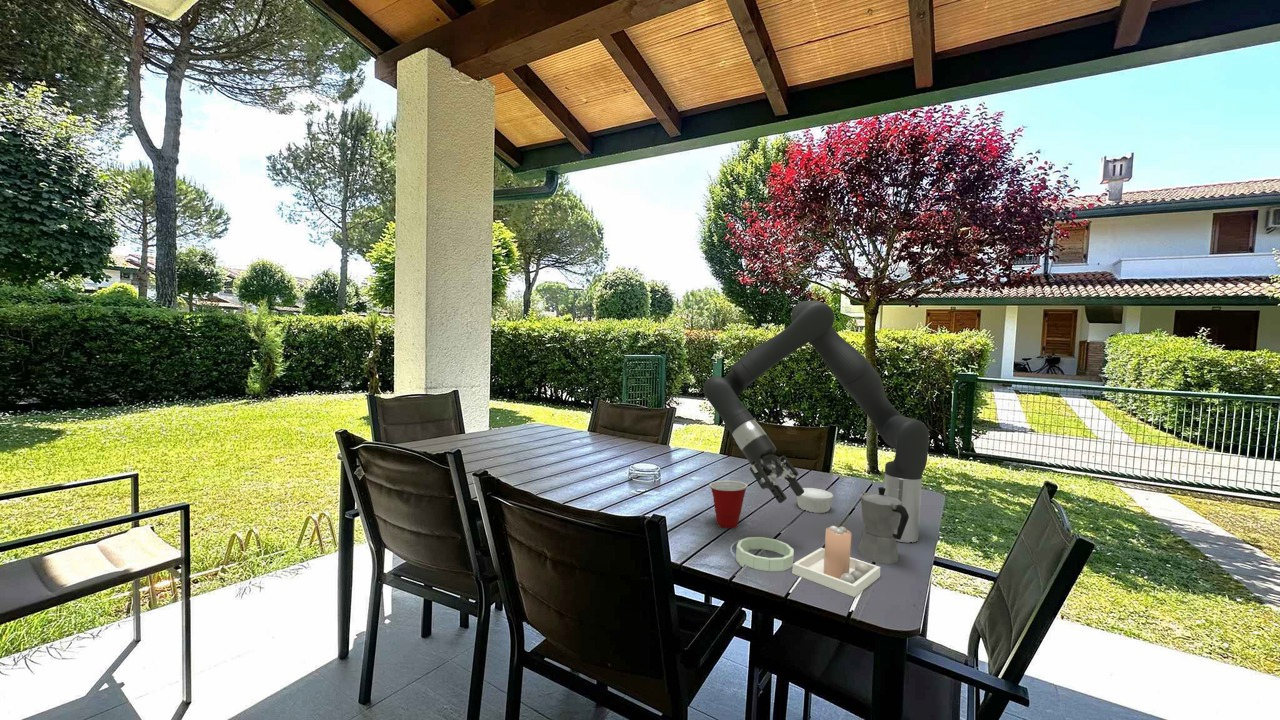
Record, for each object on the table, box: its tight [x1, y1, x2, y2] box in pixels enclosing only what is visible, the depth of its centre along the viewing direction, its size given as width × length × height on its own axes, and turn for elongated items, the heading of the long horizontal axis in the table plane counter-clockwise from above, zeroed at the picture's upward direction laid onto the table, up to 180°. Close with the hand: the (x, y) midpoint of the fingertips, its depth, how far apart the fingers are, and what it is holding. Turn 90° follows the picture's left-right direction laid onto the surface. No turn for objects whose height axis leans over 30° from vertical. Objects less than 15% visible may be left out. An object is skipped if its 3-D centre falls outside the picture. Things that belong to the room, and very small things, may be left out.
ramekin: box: [796, 487, 834, 514], centre depth 166 cm, size 11×11×5 cm
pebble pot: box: [823, 525, 852, 579], centre depth 117 cm, size 5×5×11 cm
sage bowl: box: [735, 536, 795, 572], centre depth 124 cm, size 13×13×4 cm
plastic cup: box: [709, 480, 748, 529], centre depth 148 cm, size 11×11×12 cm
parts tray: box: [791, 547, 881, 598], centre depth 117 cm, size 14×14×4 cm
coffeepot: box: [857, 486, 909, 565], centre depth 127 cm, size 15×9×18 cm, turn 14°
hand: (792, 497), depth 125 cm, fingers open, 8 cm apart
